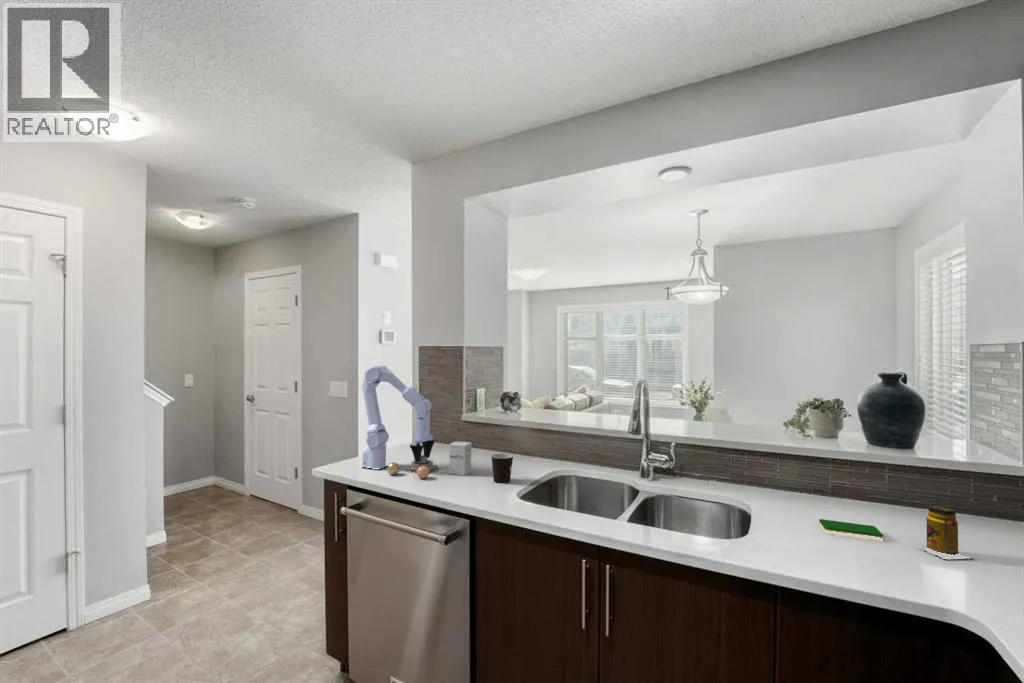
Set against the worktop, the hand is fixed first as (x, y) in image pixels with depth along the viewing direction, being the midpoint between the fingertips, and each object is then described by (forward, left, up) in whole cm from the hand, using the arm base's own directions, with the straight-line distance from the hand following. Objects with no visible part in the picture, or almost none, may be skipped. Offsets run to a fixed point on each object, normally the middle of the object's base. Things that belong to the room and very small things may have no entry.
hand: (422, 459), depth 195 cm
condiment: (+169, -19, -5) cm, 170 cm away
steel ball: (0, 0, -1) cm, 1 cm away
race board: (0, 0, -4) cm, 4 cm away
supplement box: (+17, +2, -5) cm, 18 cm away
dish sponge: (+150, -12, -5) cm, 151 cm away
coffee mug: (+38, -1, -5) cm, 38 cm away
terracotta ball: (+7, -11, -2) cm, 13 cm away
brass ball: (-7, -11, -2) cm, 13 cm away
